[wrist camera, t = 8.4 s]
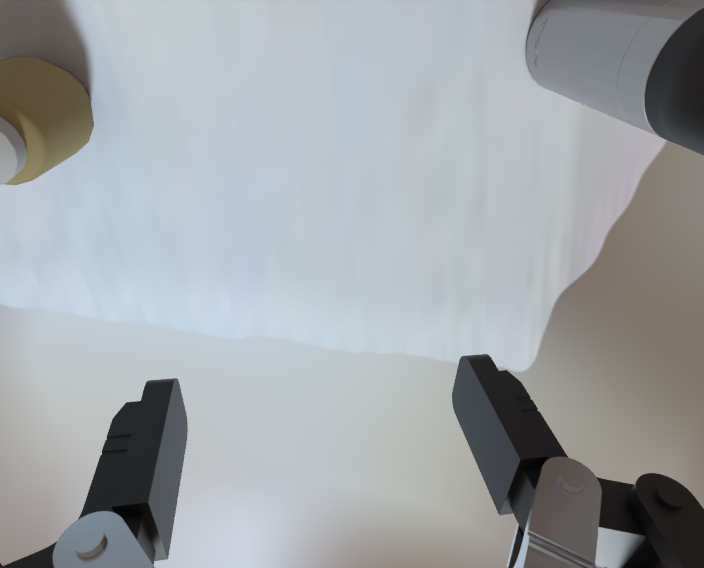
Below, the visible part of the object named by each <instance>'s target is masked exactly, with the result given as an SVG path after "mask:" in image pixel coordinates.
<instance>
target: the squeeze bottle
mask: <svg viewBox="0 0 704 568" xmlns="http://www.w3.org/2000/svg"><path fill="white" fill-rule="evenodd" d="M93 126H94V122H93V115H92V108H91V103H90V98H89V96H88V94H87V92H86V91H85V89H84V87H83V85H82V84H81V83H80V82H79V81H78V80H77V79H76V78H75V77H74V76H73V75H72V74H71V73H69V72H67V71H65V70H63V69H61V68H59V67H57V66H55V65H53V64H51V63H49V62H47V61H44V60H42V59H39V58H31V57H23V56H15V57H11V58H8V59H5V60H1V61H0V185H1V184H8V185H18V184H21V183H25V182H28V181H32V180H34V179H35V178H37V177H39V176H40V175H42V174H43V173H45V172H47V171H48V170H50V169H51V168H53V167H55V166H56V165H58V164H60V163H61V162H63V161H64V160H66V159H68V158H69V157H71V156H72V155H74V154H76V153H77V152H78V151H79V150H80V149H81V148H82V147H83V146H84V145H85V144H87V143H88V142H89V139H90V136H91V133H92V129H93Z"/></svg>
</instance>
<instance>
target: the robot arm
mask: <svg viewBox="0 0 704 568" xmlns="http://www.w3.org/2000/svg"><path fill="white" fill-rule="evenodd" d="M526 61H527V65H528V69H529V72H530V73H531V75H532V77H533V79H534V80H535V81H536V82H537V83H538V84H539V85H541V86H543V87H545V88H546V89H549V90H551V91H553V92H556V93H558V94H560V95H563V96H565V97H567V98H569V99H572V100H574V101H576V102H579V103H581V104H583V105H586V106H588V107H590V108H593V109H595V110H598V111H600V112H602V113H605V114H607V115H609V116H612V117H614V118H616V119H619V120H621V121H624V122H626V123H628V124H631V125H633V126H636V127H638V128H641V129H643V130H645V131H648V132H650V133H652V134H655V135H657V136H659V137H662V138H664V139H666V140H668V141H671V142H673V143H676V144H678V145H681V146H683V147H686V148H688V149H690V150H693V151H695V152H697V153H700V154H702V155H704V0H550V1H549V2H548V3H547V4H546V5H545V6H544V7H543V8H542V10H541V11H540V13H539V14H538V15H537V17H536V19H535V21H534V23H533V25H532V27H531V29H530V32H529V36H528V39H527V46H526ZM452 402H453V407H454V411H455V414H456V416H457V419H458V421H459V423H460V425H461V428H462V430H463V432H464V435H465V437H466V439H467V442H468V444H469V446H470V449H471V451H472V453H473V456H474V458H475V460H476V463H477V465H478V467H479V469H480V472H481V474H482V476H483V479H484V481H485V483H486V486H487V488H488V490H489V493H490V495H491V497H492V499H493V502H494V504H495V506H496V509H497V511H498V513H499V515H504V514H512V513H514V515H515V518H516V520H517V522H518V525H517V527H516V531H515V534H514V538H513V542H512V546H511V551H510V554H509V559H508V563H507V567H506V568H596V565H597V566H601V567H605V568H704V509H703V508H702V506H701V505H700V504H699V502H698V501H697V500H696V498H695V497H694V496H693V495H692V494H691V492H690V491H689V490H688V489H687V488H685V487H684V486H683V485H681V484H680V483H678V482H677V481H675V480H673V479H671V478H669V477H667V476H664V475H661V474H656V473H648V474H644V475H642V476H640V477H639V478H638V480H637V481H636V483H635V484H634V485H633V484H627V483H622V482H616V481H610V480H605V479H601V478H598V477H596V476H595V475H594V474H593V472H592V471H591V470H590V469H589V468H587V467H586V466H585V465H583V464H582V463H580V462H578V461H576V460H574V459H571V458H568V456H567V455H566V453H565V452H564V450H563V449H562V447H561V445H560V444H559V442H558V441H557V439H556V437H555V436H554V434H553V433H552V431H551V429H550V428H549V426H548V425H547V423H546V421H545V420H544V418H543V417H542V415H541V413H540V412H538V411H537V407H536V405H535V404H534V402H533V401H532V400H531V399H530V396H529V394H528V393H527V391H526V389H525V388H524V386H523V385H522V383H521V382H520V381H519V380H518V379H516V378H515V377H514V376H513V375H512V374H510V373H509V372H508V371H507V370H505V371H498V369H497V367H496V365H495V364H494V362H493V360H492V359H491V357H490V356H489V355H487V354H483V355H470V356H462V357H461V358H460V361H459V365H458V370H457V375H456V379H455V383H454V388H453V392H452ZM186 441H187V416H186V411H185V407H184V403H183V398H182V394H181V390H180V385H179V382H178V379H163V380H151V381H147V382H146V385H145V388H144V391H143V395H142V399H141V401H138V402H127V403H126V404H125V405H124V406H123V407H122V408H121V410H120V411H119V412H118V413H117V414H116V416H115V417H114V418H113V420H112V423H111V426H110V429H109V432H108V435H107V440H106V441H105V444H104V447H103V450H102V455H101V456H100V459H99V462H98V465H97V468H96V471H95V474H94V477H93V480H92V483H91V486H90V489H89V492H88V496H87V498H86V501H85V504H84V508H83V510H82V513H81V515H80V517H79V519H78V520H77V521H75V522H74V523H73V524H72V525H70V526H69V527H68V528H67V529H66V530H65V531H64V533H63V534H62V535H61V537H60V538H59V540H58V541H57V542H56V543H54V544H52V545H51V546H49V547H47V548H45V549H43V550H41V551H39V552H36V553H34V554H31V555H29V556H27V557H24V558H22V559H19V560H17V561H14V562H12V563H10V564H7V565H5V566H2V565H1V563H0V568H155V567H154V566H153V564H154V561H158V560H165V559H168V555H169V548H170V542H171V536H172V529H173V524H174V517H175V511H176V505H177V497H178V492H179V485H180V479H181V473H182V466H183V460H184V454H185V448H186Z"/></svg>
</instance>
